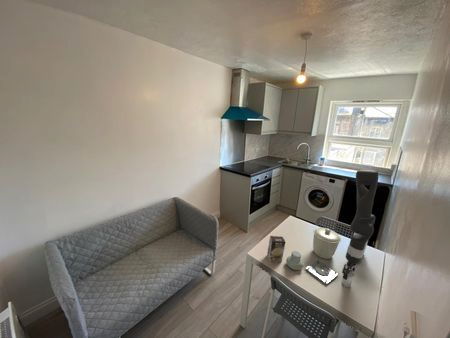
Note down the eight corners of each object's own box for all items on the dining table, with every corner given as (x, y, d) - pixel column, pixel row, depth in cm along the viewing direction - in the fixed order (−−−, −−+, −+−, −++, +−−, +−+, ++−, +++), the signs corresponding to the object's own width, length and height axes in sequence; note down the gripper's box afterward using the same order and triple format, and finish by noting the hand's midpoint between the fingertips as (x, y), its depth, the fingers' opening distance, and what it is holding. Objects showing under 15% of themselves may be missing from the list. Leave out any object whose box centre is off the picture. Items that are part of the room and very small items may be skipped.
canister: (329, 247, 151) (335, 223, 145) (340, 264, 133) (347, 238, 128) (306, 244, 152) (311, 221, 147) (314, 260, 135) (320, 234, 129)
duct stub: (343, 278, 121) (346, 267, 118) (353, 285, 116) (356, 273, 114) (339, 282, 118) (342, 270, 115) (349, 289, 113) (352, 277, 111)
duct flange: (317, 262, 134) (317, 259, 133) (337, 275, 123) (338, 272, 122) (305, 269, 126) (306, 267, 125) (326, 285, 115) (327, 282, 114)
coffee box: (269, 261, 131) (272, 241, 127) (266, 255, 137) (269, 235, 133) (282, 262, 132) (285, 241, 127) (279, 255, 138) (282, 236, 134)
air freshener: (298, 261, 133) (300, 249, 131) (304, 270, 125) (307, 257, 123) (283, 262, 131) (285, 249, 129) (289, 271, 124) (291, 258, 121)
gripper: (353, 245, 118) (346, 267, 122) (342, 253, 110) (335, 276, 114) (366, 253, 112) (359, 275, 116) (356, 261, 104) (349, 285, 108)
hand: (347, 276), depth 115 cm, fingers open, 8 cm apart
